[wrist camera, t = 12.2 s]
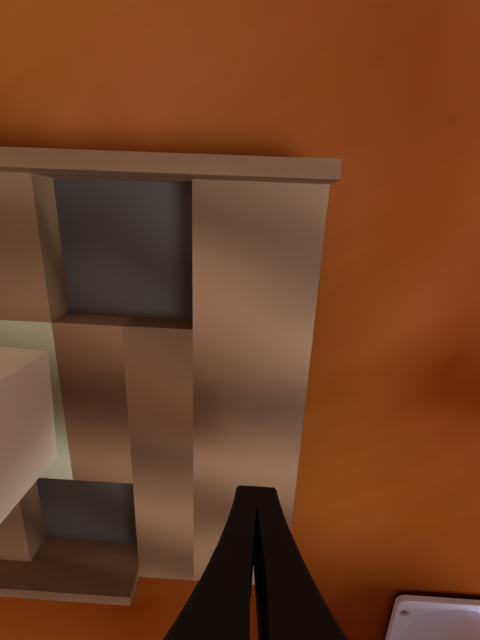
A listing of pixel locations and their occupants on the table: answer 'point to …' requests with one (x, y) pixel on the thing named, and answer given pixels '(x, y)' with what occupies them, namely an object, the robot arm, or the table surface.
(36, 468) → the cream block
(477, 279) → the table surface
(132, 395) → the trap tray
